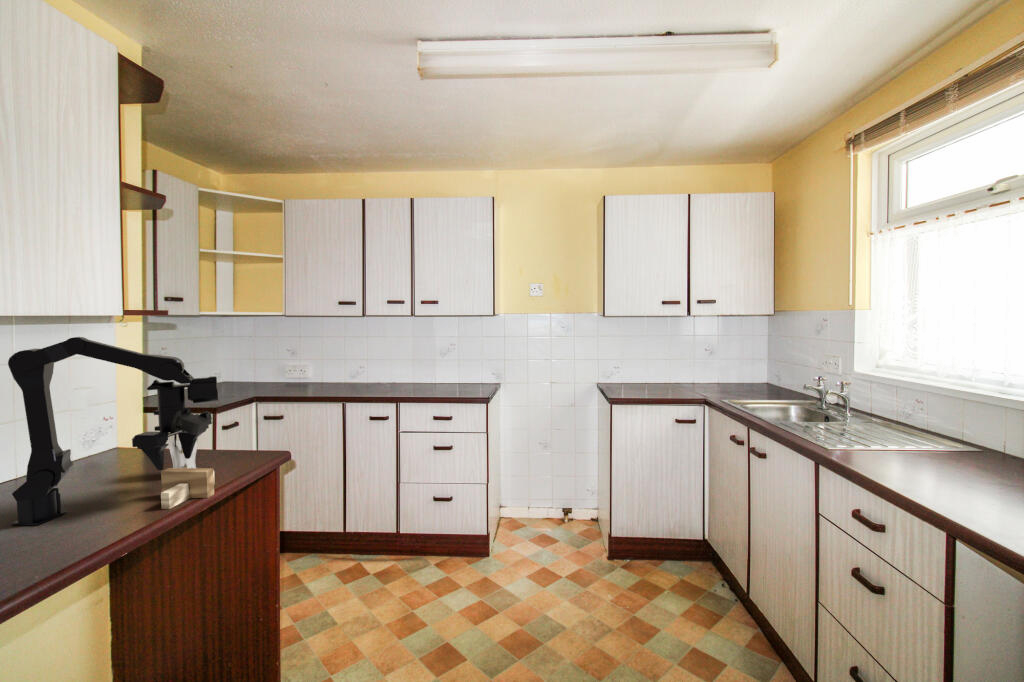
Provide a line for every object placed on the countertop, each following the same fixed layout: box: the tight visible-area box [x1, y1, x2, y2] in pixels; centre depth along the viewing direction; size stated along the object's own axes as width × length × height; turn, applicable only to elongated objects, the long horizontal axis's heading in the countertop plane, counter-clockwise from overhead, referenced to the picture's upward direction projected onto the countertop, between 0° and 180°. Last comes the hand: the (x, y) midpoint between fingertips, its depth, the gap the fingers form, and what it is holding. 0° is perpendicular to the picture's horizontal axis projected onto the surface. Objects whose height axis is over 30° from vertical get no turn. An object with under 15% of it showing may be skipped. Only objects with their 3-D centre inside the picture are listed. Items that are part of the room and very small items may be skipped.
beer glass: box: [167, 432, 199, 468], centre depth 132 cm, size 7×7×15 cm
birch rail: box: [160, 469, 216, 510], centre depth 117 cm, size 16×2×4 cm, turn 179°
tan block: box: [160, 467, 215, 499], centre depth 116 cm, size 2×12×7 cm, turn 89°
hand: (174, 464), depth 116 cm, fingers open, 9 cm apart
